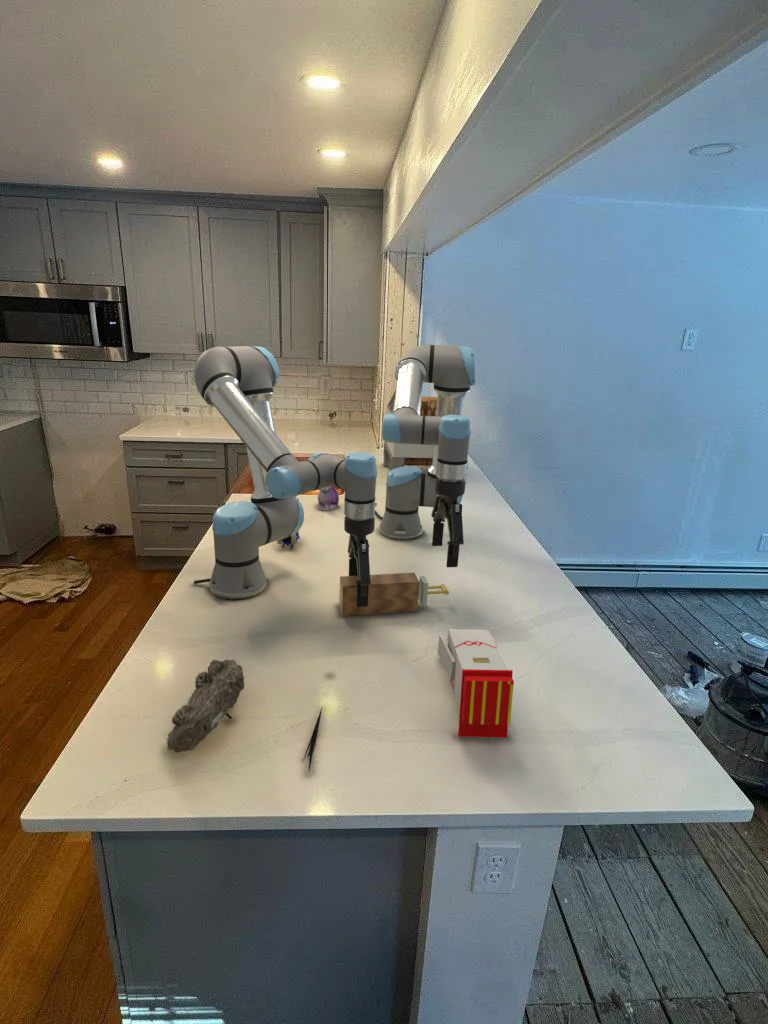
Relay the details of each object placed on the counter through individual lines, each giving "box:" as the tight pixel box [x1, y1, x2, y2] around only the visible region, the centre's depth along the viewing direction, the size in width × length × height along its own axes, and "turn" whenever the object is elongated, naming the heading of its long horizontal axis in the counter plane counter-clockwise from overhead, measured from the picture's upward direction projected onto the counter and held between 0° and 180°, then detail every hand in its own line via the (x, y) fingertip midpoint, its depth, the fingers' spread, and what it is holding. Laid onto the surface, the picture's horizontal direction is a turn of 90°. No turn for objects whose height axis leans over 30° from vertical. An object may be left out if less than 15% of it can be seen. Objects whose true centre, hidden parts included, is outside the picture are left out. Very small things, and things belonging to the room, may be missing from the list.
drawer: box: [418, 575, 450, 607], centre depth 150 cm, size 25×4×7 cm, turn 102°
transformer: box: [383, 389, 438, 472], centre depth 268 cm, size 34×33×41 cm
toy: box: [437, 628, 515, 738], centre depth 117 cm, size 12×13×30 cm
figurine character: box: [276, 530, 301, 550], centre depth 187 cm, size 7×8×15 cm
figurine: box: [317, 486, 340, 511], centre depth 220 cm, size 9×10×15 cm
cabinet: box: [338, 572, 420, 617], centre depth 148 cm, size 20×5×9 cm, turn 102°
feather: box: [301, 673, 332, 771], centre depth 108 cm, size 2×28×2 cm
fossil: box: [166, 658, 245, 754], centre depth 106 cm, size 22×10×15 cm
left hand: (357, 593), depth 147 cm, fingers open, 13 cm apart
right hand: (444, 555), depth 149 cm, fingers open, 13 cm apart
